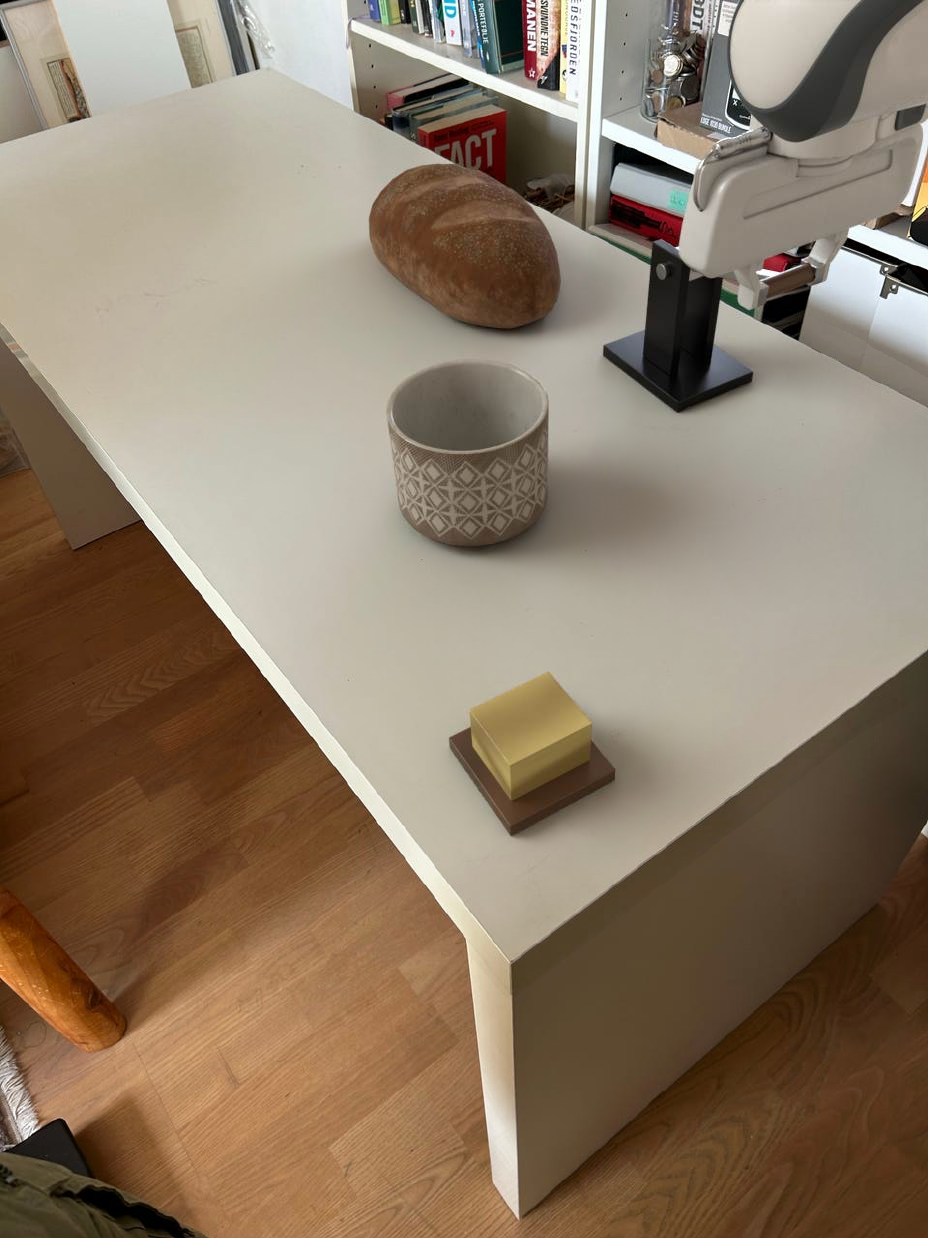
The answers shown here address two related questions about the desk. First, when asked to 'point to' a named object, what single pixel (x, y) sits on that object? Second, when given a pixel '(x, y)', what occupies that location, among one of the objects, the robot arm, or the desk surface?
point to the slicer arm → (774, 278)
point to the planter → (470, 450)
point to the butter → (531, 753)
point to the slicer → (678, 337)
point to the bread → (466, 245)
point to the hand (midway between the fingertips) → (782, 292)
